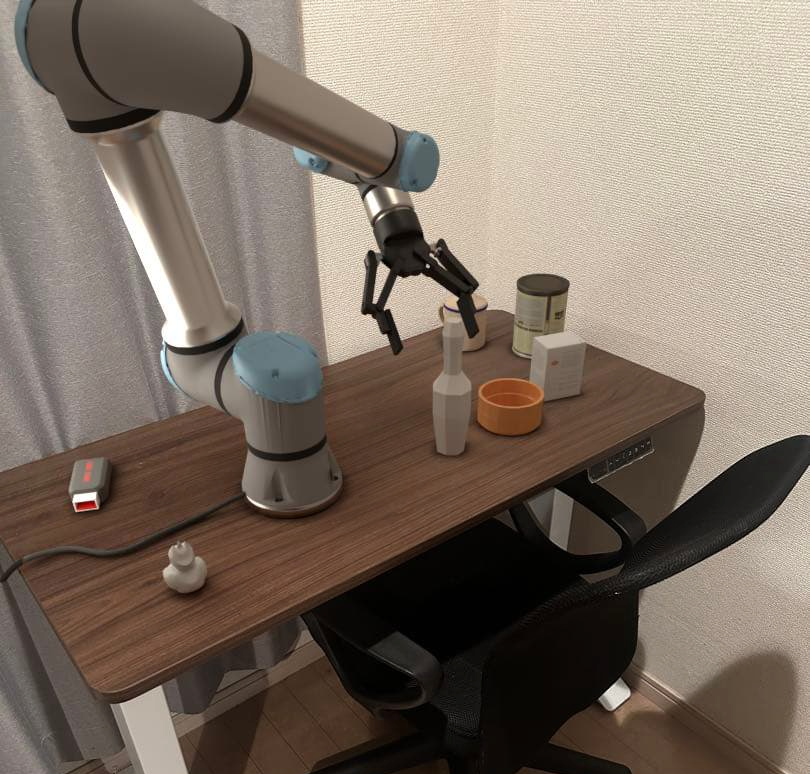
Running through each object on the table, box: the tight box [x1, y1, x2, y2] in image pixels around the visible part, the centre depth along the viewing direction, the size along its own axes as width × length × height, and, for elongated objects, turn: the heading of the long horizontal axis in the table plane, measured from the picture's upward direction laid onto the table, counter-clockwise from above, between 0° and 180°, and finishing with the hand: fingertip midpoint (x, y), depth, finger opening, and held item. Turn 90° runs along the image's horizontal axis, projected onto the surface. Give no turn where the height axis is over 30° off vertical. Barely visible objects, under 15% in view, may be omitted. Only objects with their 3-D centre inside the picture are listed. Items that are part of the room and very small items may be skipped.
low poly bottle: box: [432, 317, 472, 456], centre depth 118 cm, size 6×6×22 cm
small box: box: [529, 330, 587, 403], centre depth 137 cm, size 8×6×10 cm
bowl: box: [476, 377, 545, 436], centre depth 130 cm, size 11×11×6 cm
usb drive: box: [68, 456, 113, 513], centre depth 116 cm, size 5×12×3 cm, turn 13°
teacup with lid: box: [437, 292, 489, 352], centre depth 156 cm, size 12×9×12 cm
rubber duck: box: [162, 539, 208, 594], centre depth 96 cm, size 5×7×8 cm
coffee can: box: [511, 273, 571, 360], centre depth 151 cm, size 10×10×14 cm
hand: (437, 343), depth 119 cm, fingers open, 13 cm apart
